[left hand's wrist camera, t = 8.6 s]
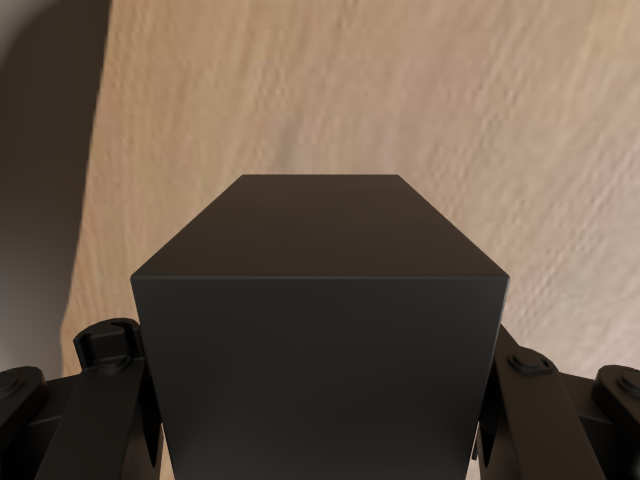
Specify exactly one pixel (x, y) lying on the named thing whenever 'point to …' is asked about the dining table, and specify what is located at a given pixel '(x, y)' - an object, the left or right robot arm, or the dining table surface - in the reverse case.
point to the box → (320, 333)
